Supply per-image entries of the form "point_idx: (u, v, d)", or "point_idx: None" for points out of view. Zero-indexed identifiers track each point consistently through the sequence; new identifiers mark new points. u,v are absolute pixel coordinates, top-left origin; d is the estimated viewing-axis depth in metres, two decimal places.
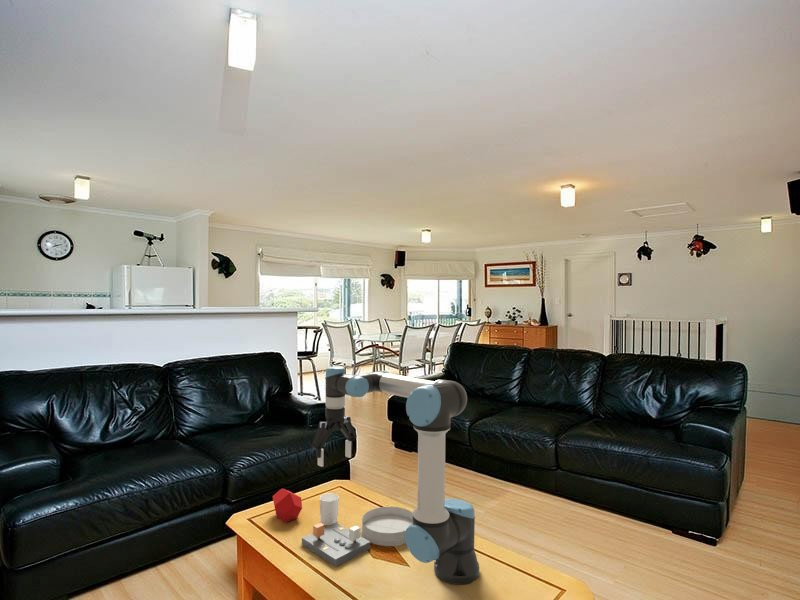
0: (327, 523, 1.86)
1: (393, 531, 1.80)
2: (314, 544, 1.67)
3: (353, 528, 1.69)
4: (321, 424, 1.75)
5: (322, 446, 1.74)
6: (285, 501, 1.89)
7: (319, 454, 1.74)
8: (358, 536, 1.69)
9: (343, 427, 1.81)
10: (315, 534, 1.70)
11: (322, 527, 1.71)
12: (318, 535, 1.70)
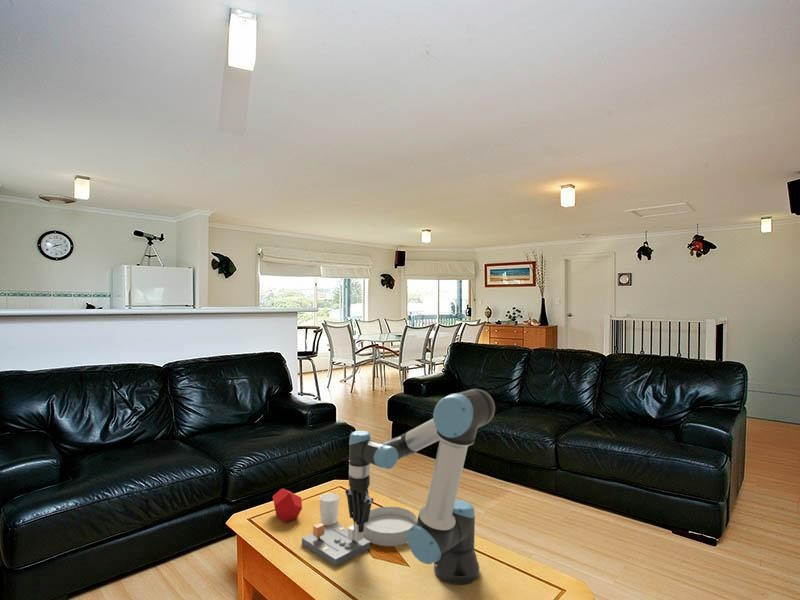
0: (327, 523, 1.86)
1: (393, 531, 1.80)
2: (314, 544, 1.67)
3: (352, 527, 1.70)
4: None
5: (354, 517, 1.68)
6: (285, 501, 1.89)
7: (354, 526, 1.68)
8: None
9: (357, 501, 1.66)
10: (315, 534, 1.70)
11: (322, 527, 1.71)
12: (318, 535, 1.70)
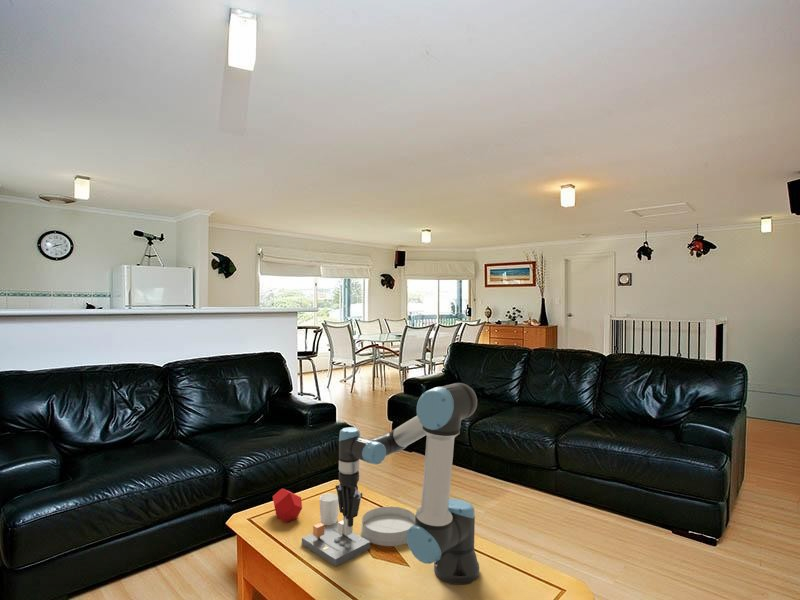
0: (327, 523, 1.86)
1: (393, 531, 1.80)
2: (314, 544, 1.67)
3: (342, 522, 1.74)
4: None
5: (344, 512, 1.72)
6: (285, 501, 1.89)
7: None
8: None
9: (347, 496, 1.70)
10: (315, 534, 1.70)
11: (322, 527, 1.71)
12: (318, 535, 1.70)
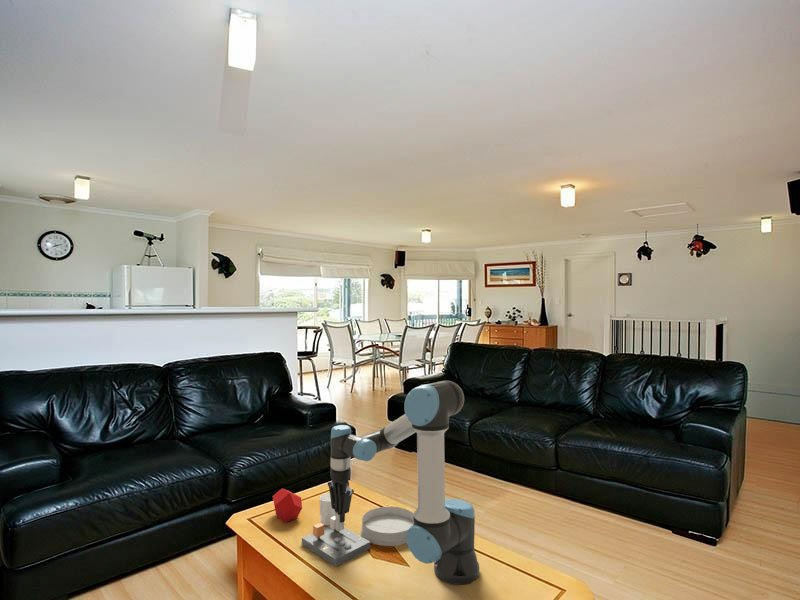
0: (327, 523, 1.86)
1: (393, 531, 1.80)
2: (314, 544, 1.67)
3: (333, 517, 1.77)
4: None
5: (336, 508, 1.75)
6: (285, 501, 1.89)
7: (336, 516, 1.76)
8: None
9: (339, 493, 1.73)
10: (315, 534, 1.70)
11: (322, 527, 1.71)
12: (318, 535, 1.70)
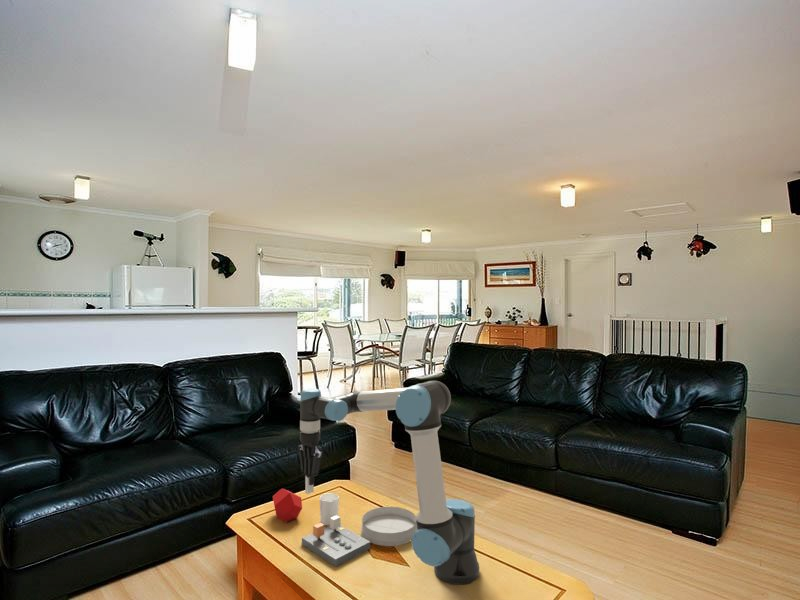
0: (327, 523, 1.86)
1: (393, 531, 1.80)
2: (314, 544, 1.67)
3: (333, 517, 1.77)
4: None
5: (305, 471, 1.75)
6: (285, 501, 1.89)
7: None
8: (338, 525, 1.77)
9: (308, 455, 1.73)
10: (315, 534, 1.70)
11: (322, 527, 1.71)
12: (318, 535, 1.70)
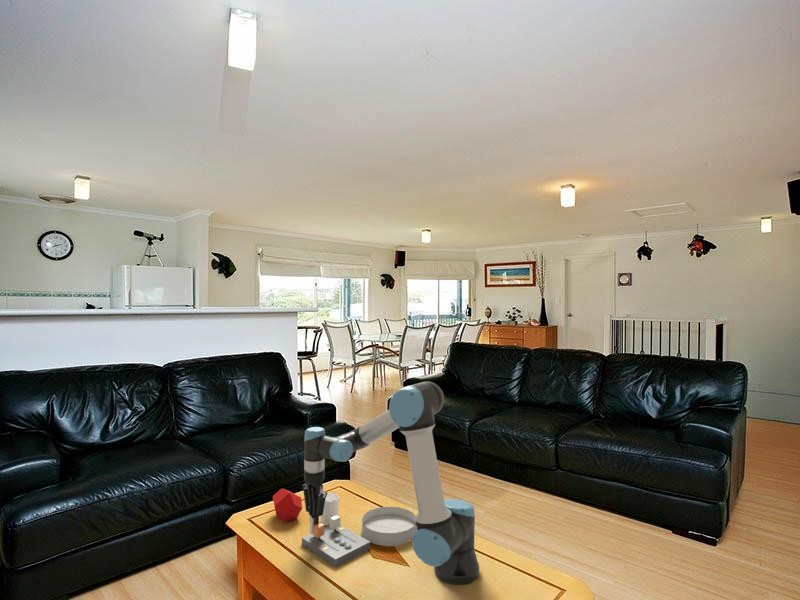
0: (327, 523, 1.86)
1: (393, 531, 1.80)
2: (314, 544, 1.67)
3: (333, 517, 1.77)
4: None
5: (310, 511, 1.73)
6: (285, 501, 1.89)
7: (310, 519, 1.74)
8: (338, 525, 1.77)
9: (312, 495, 1.71)
10: (316, 534, 1.70)
11: (322, 527, 1.71)
12: (318, 535, 1.70)
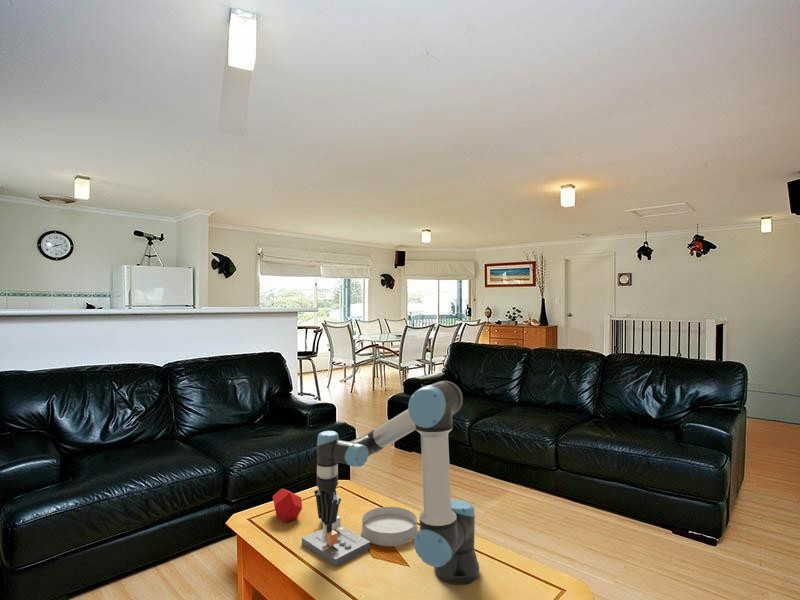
0: None
1: (393, 531, 1.80)
2: (314, 544, 1.67)
3: None
4: None
5: (323, 518, 1.67)
6: (285, 501, 1.89)
7: None
8: (338, 525, 1.77)
9: (325, 502, 1.66)
10: (329, 542, 1.64)
11: (335, 535, 1.65)
12: (331, 543, 1.64)
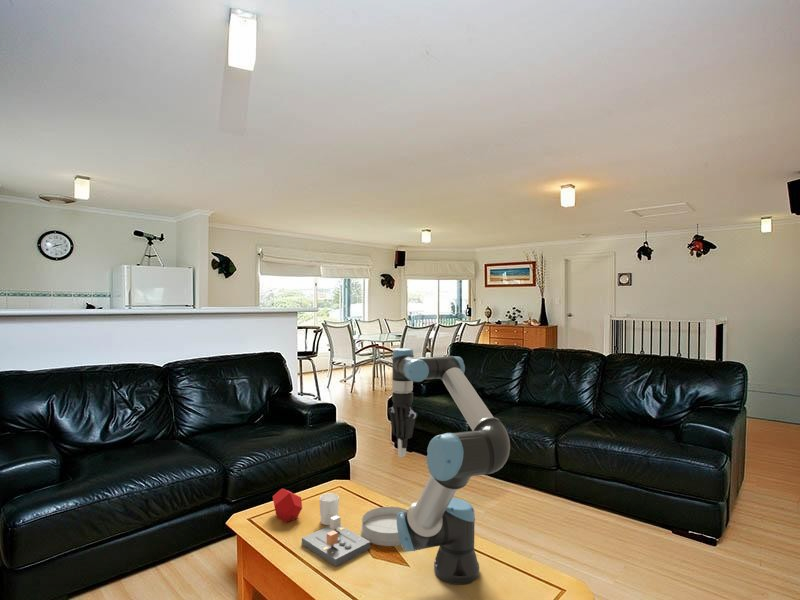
0: (327, 523, 1.86)
1: (393, 531, 1.80)
2: (314, 544, 1.67)
3: (333, 517, 1.77)
4: None
5: (398, 434, 1.68)
6: (285, 501, 1.89)
7: (398, 442, 1.69)
8: (338, 525, 1.77)
9: (401, 417, 1.66)
10: (329, 543, 1.64)
11: (336, 535, 1.65)
12: (332, 543, 1.64)
